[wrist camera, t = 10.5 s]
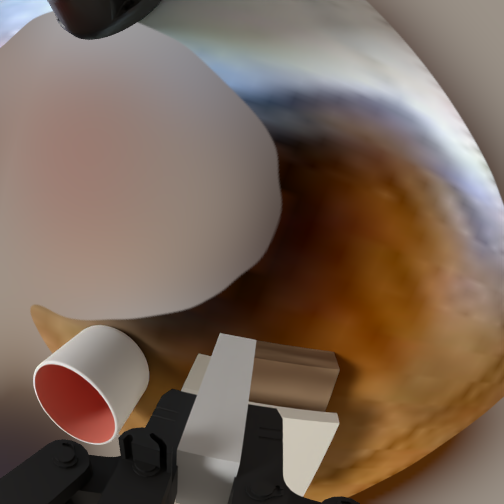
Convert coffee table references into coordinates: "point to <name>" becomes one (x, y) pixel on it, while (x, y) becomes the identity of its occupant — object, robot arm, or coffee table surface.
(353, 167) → the coffee table surface
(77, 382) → the cup
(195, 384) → the shelf
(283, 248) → the coffee table surface
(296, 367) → the board
